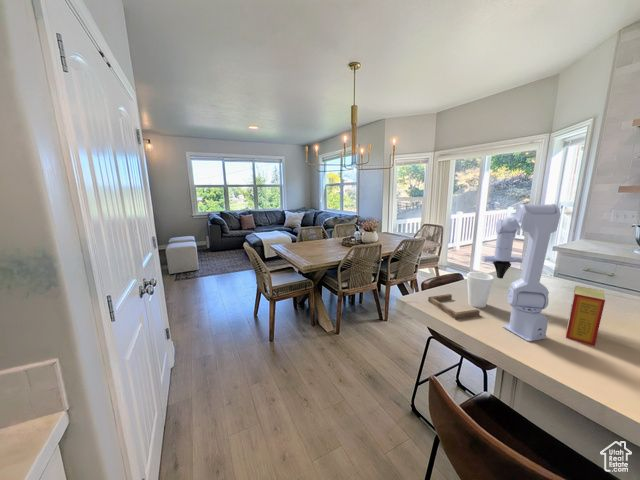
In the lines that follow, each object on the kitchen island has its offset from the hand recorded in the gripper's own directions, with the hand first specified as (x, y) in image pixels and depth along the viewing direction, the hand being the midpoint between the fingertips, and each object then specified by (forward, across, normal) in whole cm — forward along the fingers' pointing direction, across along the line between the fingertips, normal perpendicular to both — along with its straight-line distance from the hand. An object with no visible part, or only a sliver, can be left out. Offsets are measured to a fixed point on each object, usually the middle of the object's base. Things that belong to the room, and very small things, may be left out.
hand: (499, 277), depth 110 cm
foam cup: (+10, +10, +6) cm, 16 cm away
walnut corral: (+10, +21, +11) cm, 26 cm away
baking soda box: (+11, -14, +26) cm, 31 cm away
